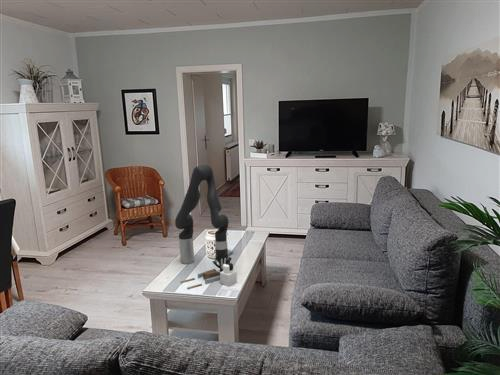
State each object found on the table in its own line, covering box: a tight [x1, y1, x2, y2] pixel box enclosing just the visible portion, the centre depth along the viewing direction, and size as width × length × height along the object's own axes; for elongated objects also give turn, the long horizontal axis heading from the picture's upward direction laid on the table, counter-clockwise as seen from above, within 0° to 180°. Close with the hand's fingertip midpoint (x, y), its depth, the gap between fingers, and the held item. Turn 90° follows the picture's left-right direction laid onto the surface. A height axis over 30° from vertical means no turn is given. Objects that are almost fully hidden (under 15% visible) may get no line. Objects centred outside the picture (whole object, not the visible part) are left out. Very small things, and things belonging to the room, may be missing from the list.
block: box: [202, 268, 219, 281], centre depth 233 cm, size 4×8×4 cm, turn 124°
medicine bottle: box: [219, 262, 238, 287], centre depth 225 cm, size 7×7×12 cm
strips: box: [180, 277, 203, 290], centre depth 227 cm, size 11×9×1 cm
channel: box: [197, 268, 220, 285], centre depth 233 cm, size 12×12×2 cm
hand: (222, 273), depth 237 cm, fingers closed
